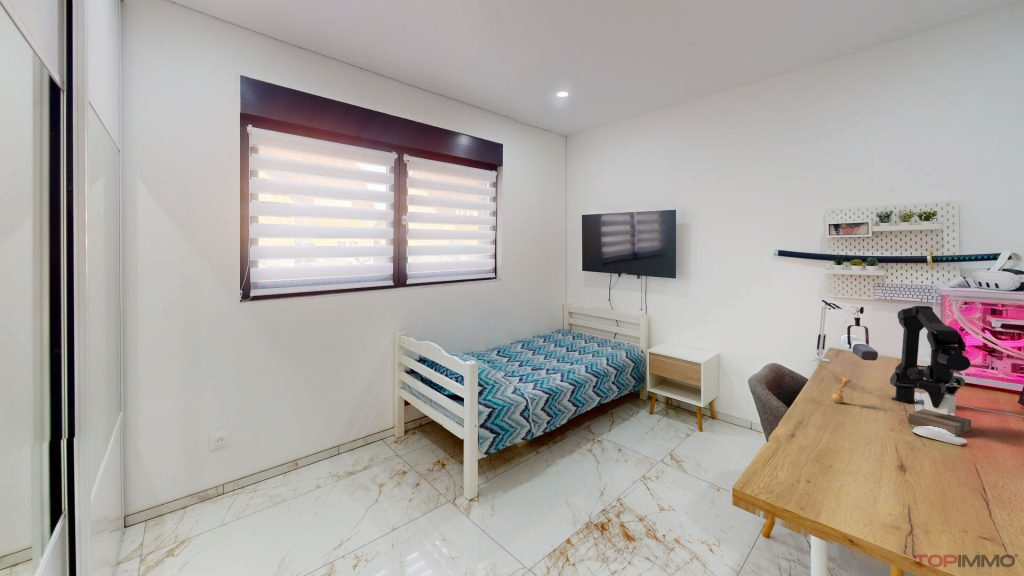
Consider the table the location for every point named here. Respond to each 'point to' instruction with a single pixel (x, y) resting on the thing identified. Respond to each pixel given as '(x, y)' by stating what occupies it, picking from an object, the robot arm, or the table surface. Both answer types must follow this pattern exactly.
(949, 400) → the off-white cube
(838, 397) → the figurine
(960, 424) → the walnut slab
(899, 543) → the table surface
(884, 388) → the table surface
